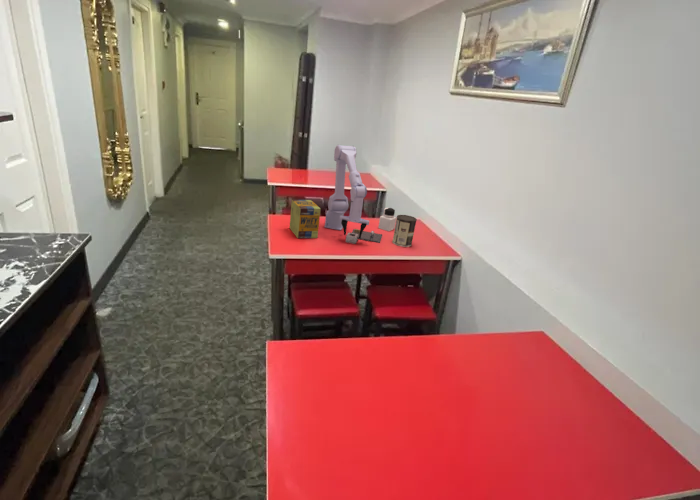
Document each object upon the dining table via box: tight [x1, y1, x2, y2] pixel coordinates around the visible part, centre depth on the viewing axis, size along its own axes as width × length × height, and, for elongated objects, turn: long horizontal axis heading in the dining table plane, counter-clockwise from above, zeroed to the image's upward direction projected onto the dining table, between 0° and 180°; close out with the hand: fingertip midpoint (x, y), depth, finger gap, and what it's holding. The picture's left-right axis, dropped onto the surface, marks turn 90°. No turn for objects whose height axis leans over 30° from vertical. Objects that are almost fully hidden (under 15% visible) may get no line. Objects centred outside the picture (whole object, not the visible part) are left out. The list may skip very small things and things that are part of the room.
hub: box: [345, 232, 359, 245], centre depth 192 cm, size 5×5×4 cm
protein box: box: [289, 199, 321, 239], centre depth 192 cm, size 10×15×16 cm
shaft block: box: [351, 228, 383, 244], centre depth 201 cm, size 16×12×4 cm
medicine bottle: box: [378, 207, 397, 232], centre depth 217 cm, size 7×7×12 cm
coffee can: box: [391, 214, 418, 248], centre depth 197 cm, size 10×10×14 cm
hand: (352, 236), depth 192 cm, fingers open, 7 cm apart
